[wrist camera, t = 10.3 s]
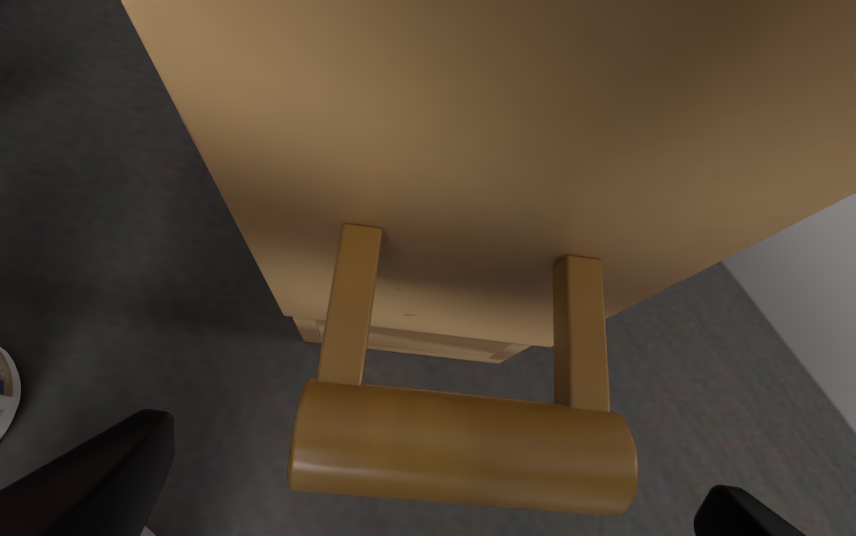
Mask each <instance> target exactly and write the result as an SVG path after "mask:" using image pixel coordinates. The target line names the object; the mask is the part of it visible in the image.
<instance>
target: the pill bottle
mask: <svg viewBox="0 0 856 536" xmlns="http://www.w3.org/2000/svg"><path fill="white" fill-rule="evenodd" d="M20 394H21V383H20V378H19V374H18V371H17V368H16V366H15V363H14V362H13V360H12V359H11V357H10V356H9V354H8V353H7V352H6V351H5V350H4V349H2V348H1V347H0V439H1V438H2V436H3V435H4V434H5V432H6V431H7V429H8V427H9V426H10V424H11V422H12V420H13V417H14V415H15V412H16V410H17V408H18V405H19V401H20Z"/></svg>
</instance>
